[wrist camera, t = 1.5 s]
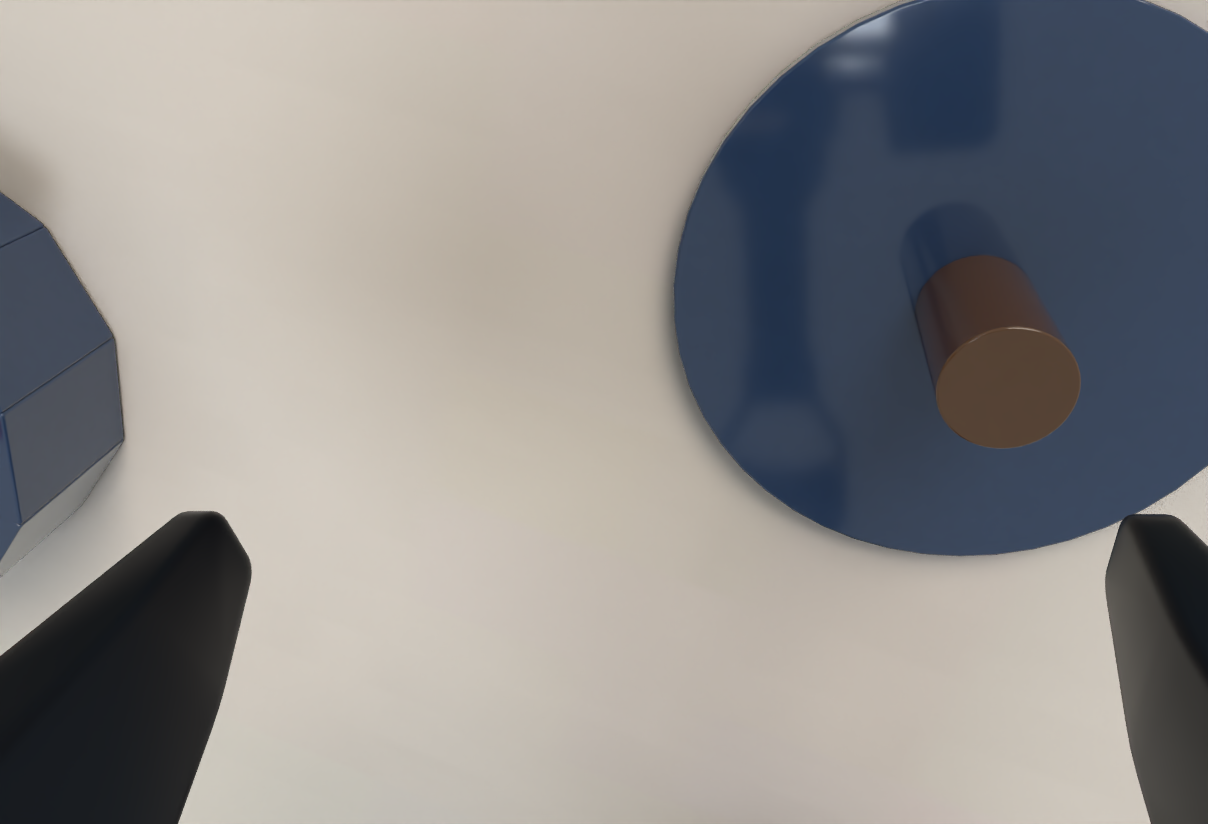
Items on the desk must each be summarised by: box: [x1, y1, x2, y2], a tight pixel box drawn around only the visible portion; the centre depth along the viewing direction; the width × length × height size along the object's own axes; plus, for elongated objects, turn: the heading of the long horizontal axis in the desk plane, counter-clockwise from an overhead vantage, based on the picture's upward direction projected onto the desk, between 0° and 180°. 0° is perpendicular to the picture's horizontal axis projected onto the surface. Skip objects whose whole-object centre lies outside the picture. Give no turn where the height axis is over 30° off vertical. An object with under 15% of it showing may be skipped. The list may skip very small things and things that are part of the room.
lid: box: [673, 0, 1208, 556], centre depth 21 cm, size 14×14×5 cm
